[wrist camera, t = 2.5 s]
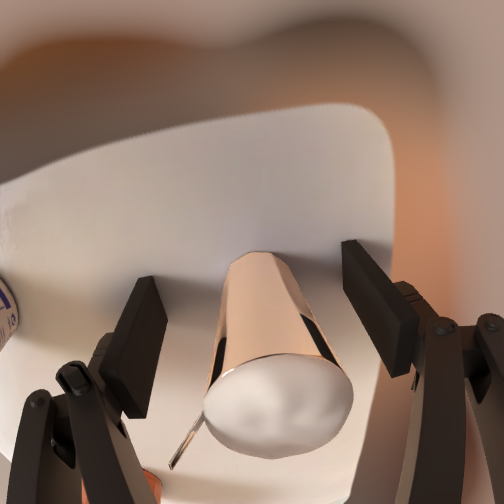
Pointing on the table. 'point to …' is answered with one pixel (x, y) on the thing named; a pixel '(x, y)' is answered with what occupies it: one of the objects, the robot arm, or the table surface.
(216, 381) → the milkshake
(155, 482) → the pen pot
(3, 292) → the energy drink
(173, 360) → the table surface
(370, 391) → the table surface
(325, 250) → the table surface
